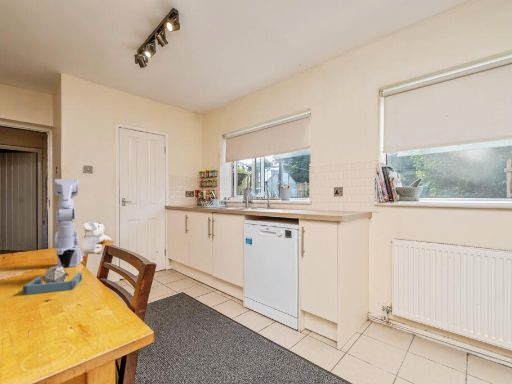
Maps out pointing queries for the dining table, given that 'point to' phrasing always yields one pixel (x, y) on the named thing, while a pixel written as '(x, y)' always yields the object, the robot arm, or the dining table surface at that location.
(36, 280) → the chassis
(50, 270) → the game die
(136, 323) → the dining table surface
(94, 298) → the dining table surface
